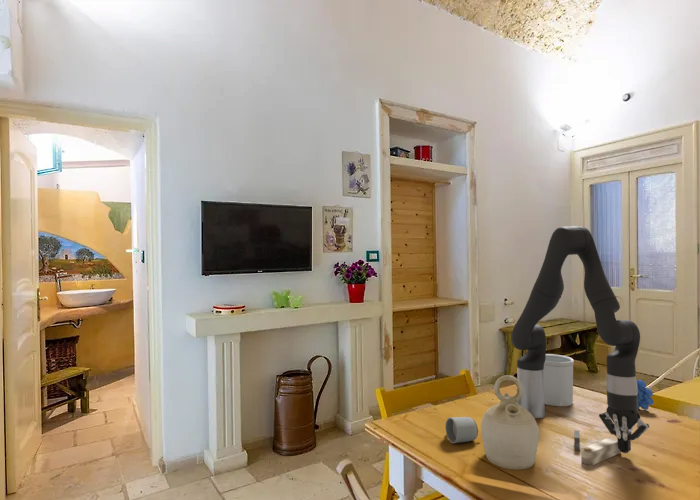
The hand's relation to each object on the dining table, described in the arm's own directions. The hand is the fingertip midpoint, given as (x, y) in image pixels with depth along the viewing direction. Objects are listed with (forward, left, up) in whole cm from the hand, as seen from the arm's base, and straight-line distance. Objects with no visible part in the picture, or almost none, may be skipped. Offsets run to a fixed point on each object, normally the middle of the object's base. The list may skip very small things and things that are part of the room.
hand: (624, 452), depth 123 cm
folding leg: (-6, -3, -1) cm, 7 cm away
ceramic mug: (-46, -5, -3) cm, 46 cm away
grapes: (+8, +52, -3) cm, 52 cm away
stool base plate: (-3, -3, -3) cm, 5 cm away
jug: (-29, -15, -3) cm, 33 cm away
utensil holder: (-20, +49, -3) cm, 53 cm away
